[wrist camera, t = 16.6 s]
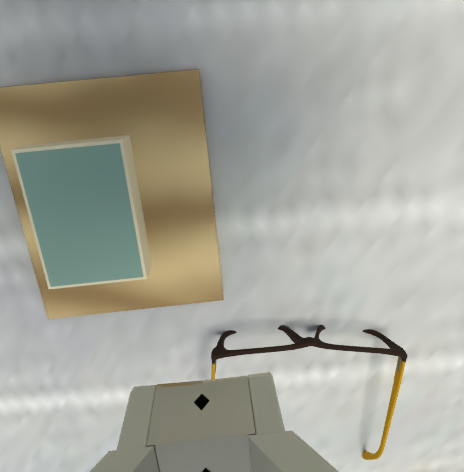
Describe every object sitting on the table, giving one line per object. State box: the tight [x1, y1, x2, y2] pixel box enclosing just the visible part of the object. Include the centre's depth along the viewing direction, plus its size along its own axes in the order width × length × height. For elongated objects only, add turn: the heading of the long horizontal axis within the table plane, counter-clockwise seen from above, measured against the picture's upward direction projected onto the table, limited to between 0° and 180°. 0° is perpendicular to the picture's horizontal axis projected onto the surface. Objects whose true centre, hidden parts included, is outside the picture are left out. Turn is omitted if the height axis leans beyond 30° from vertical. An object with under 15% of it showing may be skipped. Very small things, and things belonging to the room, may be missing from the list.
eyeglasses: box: [211, 325, 407, 460], centre depth 33 cm, size 14×14×4 cm
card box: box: [11, 135, 152, 289], centre depth 26 cm, size 9×3×6 cm
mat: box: [0, 69, 224, 319], centre depth 28 cm, size 16×13×1 cm
